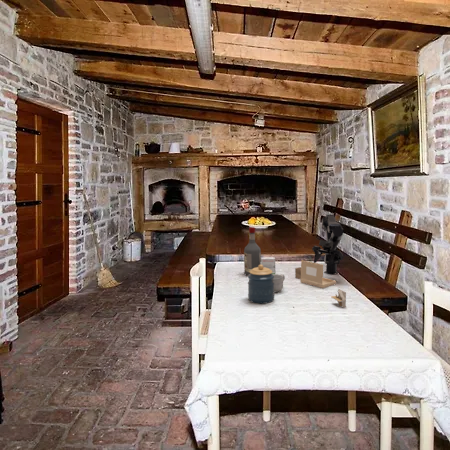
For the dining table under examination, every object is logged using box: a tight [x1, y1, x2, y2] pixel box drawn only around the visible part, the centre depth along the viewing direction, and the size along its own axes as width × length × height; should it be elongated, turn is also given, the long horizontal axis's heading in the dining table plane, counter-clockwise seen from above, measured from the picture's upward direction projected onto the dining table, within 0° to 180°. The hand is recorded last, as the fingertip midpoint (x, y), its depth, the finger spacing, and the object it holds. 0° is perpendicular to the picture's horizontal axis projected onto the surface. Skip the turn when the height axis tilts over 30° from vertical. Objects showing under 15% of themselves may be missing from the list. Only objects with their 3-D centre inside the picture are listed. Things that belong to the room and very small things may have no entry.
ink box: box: [261, 256, 276, 274], centre depth 209 cm, size 9×5×12 cm, turn 86°
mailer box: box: [299, 277, 337, 289], centre depth 193 cm, size 12×15×2 cm
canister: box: [247, 264, 275, 304], centre depth 167 cm, size 13×13×18 cm
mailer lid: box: [300, 260, 324, 284], centre depth 189 cm, size 11×15×1 cm
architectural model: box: [330, 288, 347, 308], centre depth 157 cm, size 3×7×7 cm, turn 16°
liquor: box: [243, 226, 262, 277], centre depth 213 cm, size 9×9×30 cm
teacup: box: [273, 273, 286, 293], centre depth 182 cm, size 14×11×8 cm
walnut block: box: [294, 266, 301, 280], centre depth 204 cm, size 4×4×6 cm
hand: (320, 264), depth 194 cm, fingers open, 9 cm apart
